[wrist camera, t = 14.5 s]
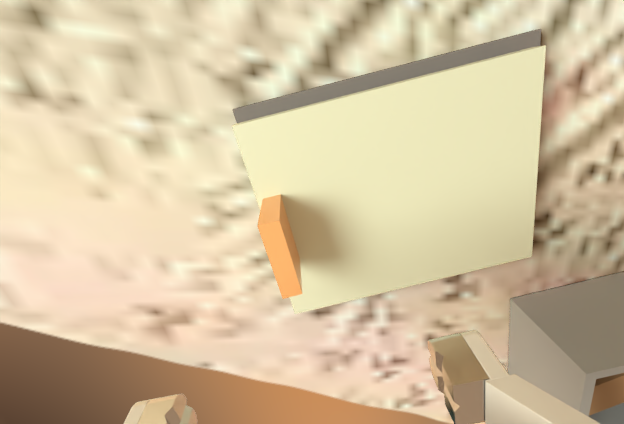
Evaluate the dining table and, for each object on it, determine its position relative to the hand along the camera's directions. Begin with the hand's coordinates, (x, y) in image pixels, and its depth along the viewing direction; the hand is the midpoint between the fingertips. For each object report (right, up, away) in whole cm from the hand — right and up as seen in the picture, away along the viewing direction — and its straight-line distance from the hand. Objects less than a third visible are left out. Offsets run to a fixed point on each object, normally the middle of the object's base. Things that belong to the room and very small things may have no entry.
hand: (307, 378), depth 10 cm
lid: (+6, +7, +13) cm, 16 cm away
